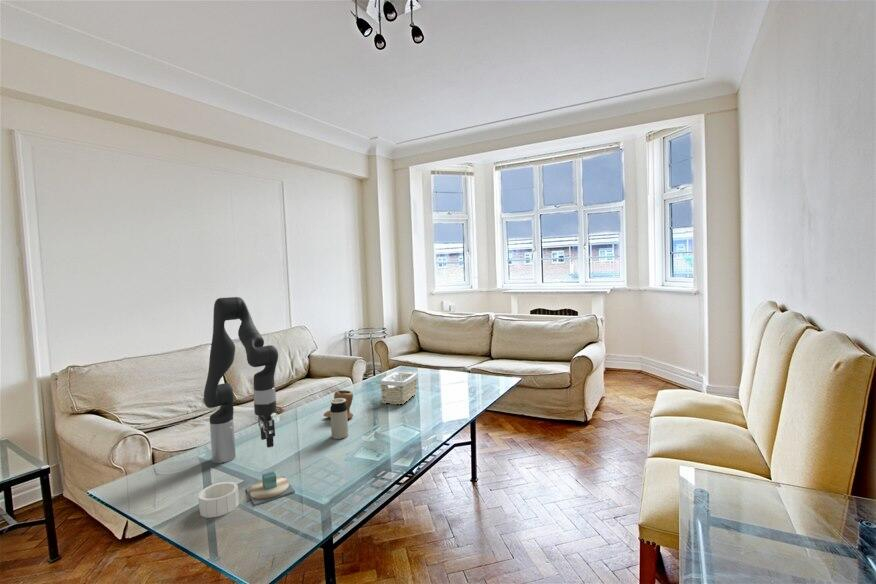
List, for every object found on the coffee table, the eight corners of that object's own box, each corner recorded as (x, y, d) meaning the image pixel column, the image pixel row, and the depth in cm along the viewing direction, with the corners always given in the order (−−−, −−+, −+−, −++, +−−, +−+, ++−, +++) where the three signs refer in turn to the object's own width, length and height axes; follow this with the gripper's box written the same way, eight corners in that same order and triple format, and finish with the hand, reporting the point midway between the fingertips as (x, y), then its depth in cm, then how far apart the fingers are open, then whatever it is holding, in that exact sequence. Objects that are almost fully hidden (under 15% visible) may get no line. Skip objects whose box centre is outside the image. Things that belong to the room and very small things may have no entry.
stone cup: (358, 415, 236) (357, 389, 235) (344, 423, 225) (342, 395, 224) (337, 412, 243) (336, 386, 242) (323, 419, 233) (321, 392, 232)
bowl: (197, 505, 149) (196, 489, 149) (234, 494, 156) (233, 478, 156) (202, 521, 139) (201, 504, 139) (241, 508, 146) (240, 491, 146)
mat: (246, 489, 159) (245, 488, 159) (283, 477, 167) (283, 476, 167) (254, 505, 148) (254, 504, 148) (294, 492, 156) (294, 490, 156)
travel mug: (344, 440, 203) (342, 403, 202) (328, 439, 204) (327, 402, 203) (350, 433, 211) (349, 398, 210) (335, 432, 212) (334, 397, 211)
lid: (246, 488, 159) (245, 473, 159) (283, 476, 167) (282, 462, 167) (254, 503, 148) (253, 487, 148) (293, 490, 156) (293, 475, 156)
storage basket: (396, 392, 277) (395, 370, 276) (419, 394, 272) (418, 371, 271) (379, 404, 255) (378, 380, 254) (404, 406, 249) (403, 381, 248)
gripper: (249, 397, 159) (252, 439, 160) (258, 407, 148) (261, 452, 149) (270, 393, 164) (272, 434, 165) (280, 402, 152) (283, 446, 153)
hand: (267, 442), depth 157 cm, fingers open, 8 cm apart
